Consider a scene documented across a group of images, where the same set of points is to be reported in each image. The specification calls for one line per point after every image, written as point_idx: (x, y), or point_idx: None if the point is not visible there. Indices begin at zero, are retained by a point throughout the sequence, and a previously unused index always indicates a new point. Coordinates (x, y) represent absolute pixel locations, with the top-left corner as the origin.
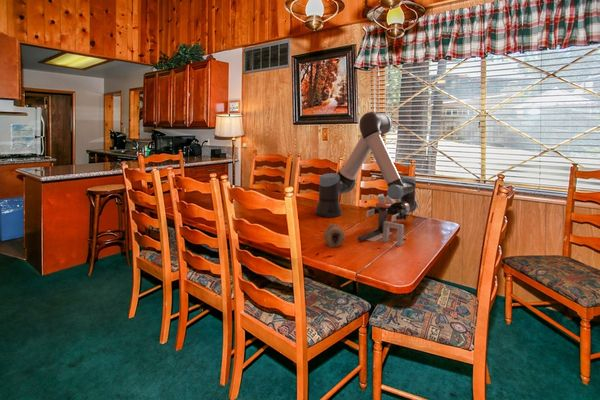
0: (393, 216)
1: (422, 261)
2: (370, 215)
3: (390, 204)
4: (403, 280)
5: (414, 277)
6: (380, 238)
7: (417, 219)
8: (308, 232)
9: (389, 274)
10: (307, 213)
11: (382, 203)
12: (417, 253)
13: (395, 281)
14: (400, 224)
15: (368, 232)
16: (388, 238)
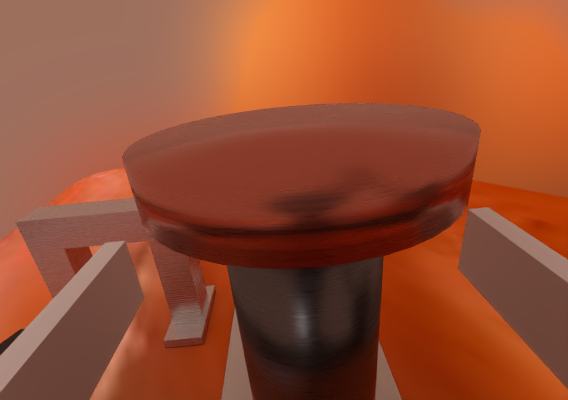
0: (102, 253)
1: (11, 244)
2: (504, 315)
3: (128, 156)
4: (92, 178)
5: (65, 190)
6: (234, 317)
7: None
8: (529, 196)
9: (123, 178)
10: None
11: (336, 129)
12: (7, 283)
13: (109, 173)
14: (47, 213)
15: (385, 358)
16: (172, 313)
